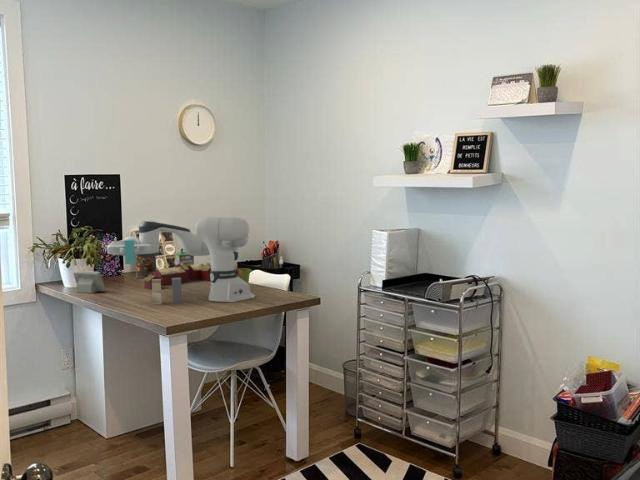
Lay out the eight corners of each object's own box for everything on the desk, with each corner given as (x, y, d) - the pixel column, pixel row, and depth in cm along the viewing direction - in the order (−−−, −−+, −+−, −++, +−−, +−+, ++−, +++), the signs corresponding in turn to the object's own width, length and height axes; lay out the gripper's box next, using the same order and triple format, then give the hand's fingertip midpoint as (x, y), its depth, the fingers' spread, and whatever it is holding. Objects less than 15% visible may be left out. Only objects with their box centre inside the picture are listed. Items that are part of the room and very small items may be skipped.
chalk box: (189, 270, 381) (189, 246, 380) (194, 272, 373) (194, 248, 372) (175, 271, 377) (174, 247, 375) (179, 273, 369) (178, 249, 367)
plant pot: (253, 286, 326) (253, 270, 325) (236, 288, 322) (235, 271, 321) (248, 283, 335) (248, 268, 334) (231, 285, 331) (231, 269, 330)
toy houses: (201, 276, 362) (201, 259, 361) (222, 280, 348) (222, 262, 347) (131, 286, 330) (130, 267, 329) (151, 291, 316) (151, 271, 315)
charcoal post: (172, 301, 289) (171, 278, 288) (181, 300, 290) (180, 277, 289) (172, 302, 285) (172, 279, 284) (181, 302, 286) (181, 278, 285)
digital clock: (107, 291, 314) (106, 270, 313) (92, 294, 306) (91, 273, 305) (85, 288, 322) (84, 268, 321) (70, 291, 314) (69, 270, 313)
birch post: (152, 302, 285) (151, 279, 284) (161, 302, 286) (160, 279, 285) (152, 304, 282) (151, 280, 280) (161, 304, 283) (160, 280, 281)
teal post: (125, 263, 288) (124, 239, 287) (134, 262, 289) (133, 239, 288) (125, 264, 285) (124, 240, 283) (134, 263, 286) (133, 240, 284)
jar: (160, 277, 357) (159, 251, 355) (140, 279, 350) (139, 252, 349) (152, 274, 366) (151, 249, 365) (132, 276, 360) (132, 250, 358)
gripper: (152, 253, 302) (153, 256, 289) (108, 254, 296) (106, 258, 283) (152, 240, 301) (152, 243, 288) (108, 241, 296) (106, 244, 283)
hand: (129, 250), depth 285 cm, fingers closed on teal post, 4 cm apart
